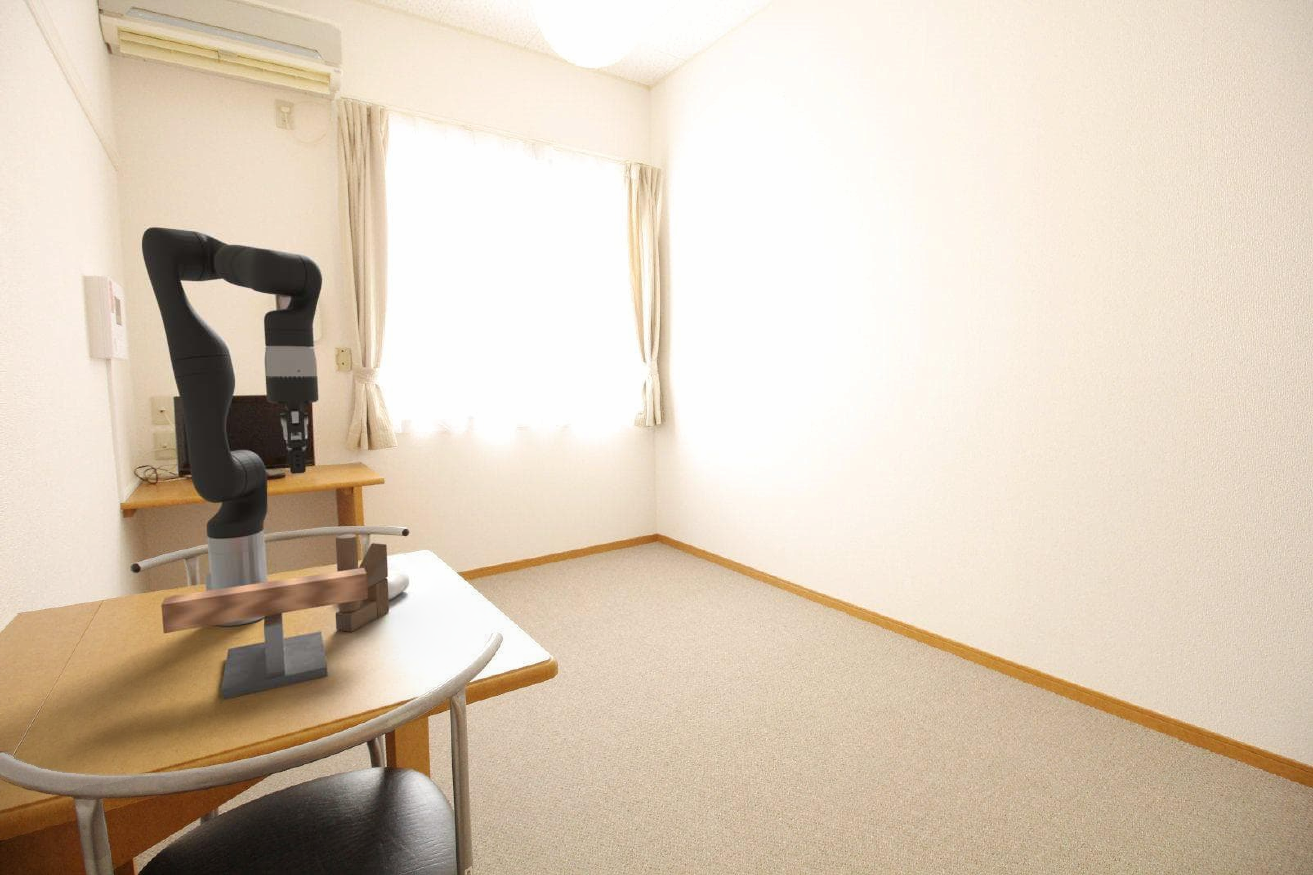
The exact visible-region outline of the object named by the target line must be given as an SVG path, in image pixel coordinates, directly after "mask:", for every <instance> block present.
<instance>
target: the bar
mask: <svg viewBox="0 0 1313 875" xmlns="http://www.w3.org/2000/svg"><path fill="white" fill-rule="evenodd" d="M358 568H359V567H358ZM367 598H368V595H367V574H366V571H365V569H364V568H359V569H352V570H345V571H339V572H337V571H334V572H326V573H320V574H313V575H305V576H299V577H292V578H287V579H280V580H272V581H267V582H264V583H258V584H251V585H244V586H237V587H231V588H224V589H217V590H210V591H206V590H205V591H198V592H191V593H184V594H177V595H170V596H165V597H164V598H163V600H162V603H161V606H160V607H161V616H162V628H163V629H162V630H163V634H168V633H174V632H180V631H187V630H192V629H197V628H198V629H199V628H204V627H211V626H215V625H216V624H222V623H228V622H234V621H240V620H245V619H251V618H257V617H263V616H269V615H275V614H280V613H282V614H285V613H290V612H291V613H292V612H297V611H302V610H303V611H304V610H309V609H314V608H320V607H327V606H332V605H337V604H338V605H339V603H344V602H350V601H356V600H362V599H367ZM263 618H264V617H263Z"/></svg>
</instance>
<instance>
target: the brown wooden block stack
mask: <svg viewBox="0 0 1313 875" xmlns="http://www.w3.org/2000/svg"><path fill="white" fill-rule="evenodd" d="M357 537H358V536H357V535H356V534H354V533H348V534H347V533H345V534H341V535H338V536H336V537H335V550H336V551H335V552H336V568H337V571H336V572H339V571H345V570H352V569H359V568H364V569H365V571H366V574H367V595H368V598H367V599H363V601H360V600H356V601H350V602H344V603H338V607H339V608H338V611H336V612H335V626H336V627H335V628H336V631H342V632H349V633H352V632H354V631H356V630H358V629H359V628H361V627H364V626H365V625H367V624H368V623H371V622H372V621H374V620H377V618H380V617H382V616H383V615H385V614H387V613H388V612H390V600H389V597H388V579H387V578H388V570H389V569H388V550H387V548H388V547H387V546H388V545H387V544H386V543H378V542H377V543H376V542H375V543H374V542H372V543H371V544H370V545H369V548H368V549H367V551H366V553H365V555H364V557H363V559H362V561H361V563H360V564H359V555H358V554H359V552H358V538H357Z"/></svg>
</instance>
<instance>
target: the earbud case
mask: <svg viewBox="0 0 1313 875" xmlns="http://www.w3.org/2000/svg"><path fill="white" fill-rule="evenodd" d="M387 579H388V597H389V601H390V600H392V599H394V598H396V597H397V596H398V595H401V594H402V593H403V592H404V591H406V590H407V588H408V587H409V586H410V578H409V576H408V574H407V573H405V571H402V570H399V569H388V578H387ZM362 601H363V599H362V600H360V602H362Z"/></svg>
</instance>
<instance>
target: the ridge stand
mask: <svg viewBox="0 0 1313 875" xmlns="http://www.w3.org/2000/svg"><path fill="white" fill-rule="evenodd" d="M263 618H264V619H263V620H264V621H263V636H264V642H263V641H262V642H257V643H252V644H246V645H241V646H237V647H231V648H228V649H227V655H226V660H225V666H224V672H223V678H222V683H221V689H220V692H221V693H220V694H221V700H226V699H230V698H234V697H238V696H242V695H243V696H244V695H249V694H253V693H257V692H261V691H266V690H269V689H271V690H272V689H274V688H280V687H284V686H287V685H288V686H289V685H293V684H297V683H302V682H305V681H310V680H315V679H318V678H323V677H328V673H329V672H328V663H327V658H326V657H327V656H326V652H325V646H324V639H323V634H322V630H321V631H316V632H315V631H314V632H310V633H305V634H301V635H299V634H298V635H294V636H290V637H285V635H284V634H285V633H284V632H285V631H284V620H283V619H284V616H283V613H280V614H275V615H269V616H264V617H263Z"/></svg>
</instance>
